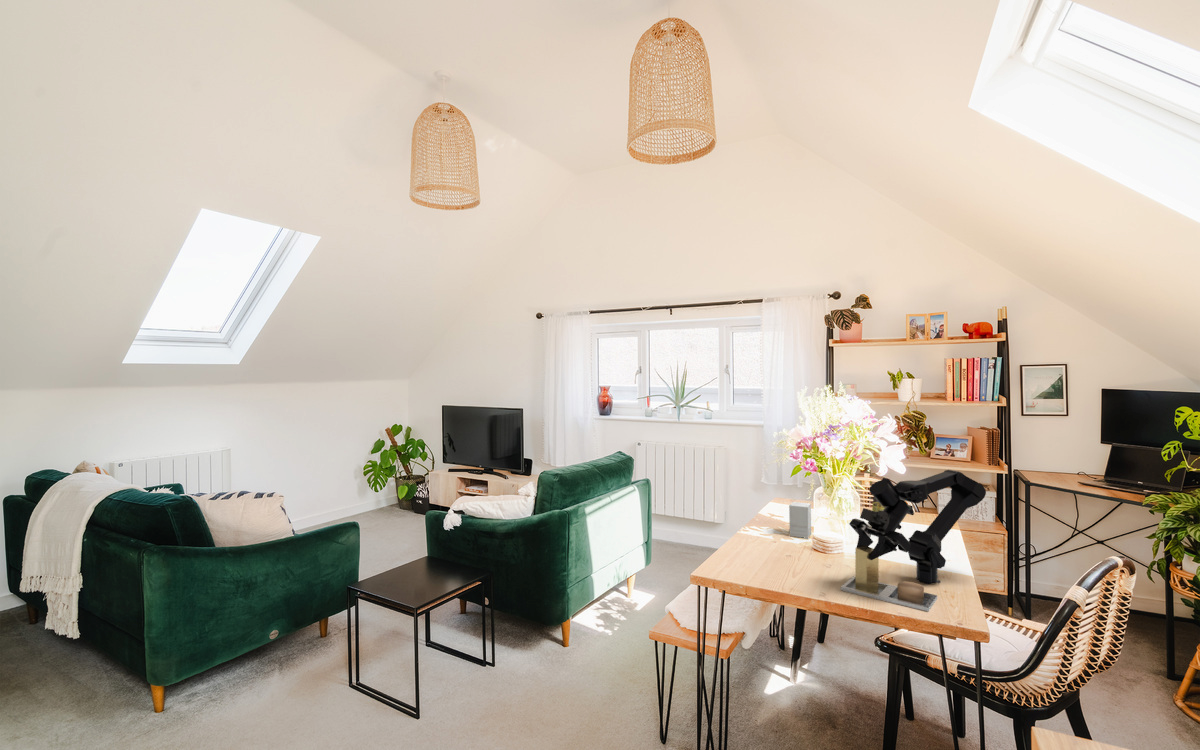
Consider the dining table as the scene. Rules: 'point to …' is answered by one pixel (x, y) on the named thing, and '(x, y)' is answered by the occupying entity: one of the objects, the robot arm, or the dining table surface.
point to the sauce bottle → (877, 506)
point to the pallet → (889, 595)
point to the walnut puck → (911, 592)
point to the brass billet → (866, 570)
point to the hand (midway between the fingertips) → (863, 556)
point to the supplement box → (800, 519)
